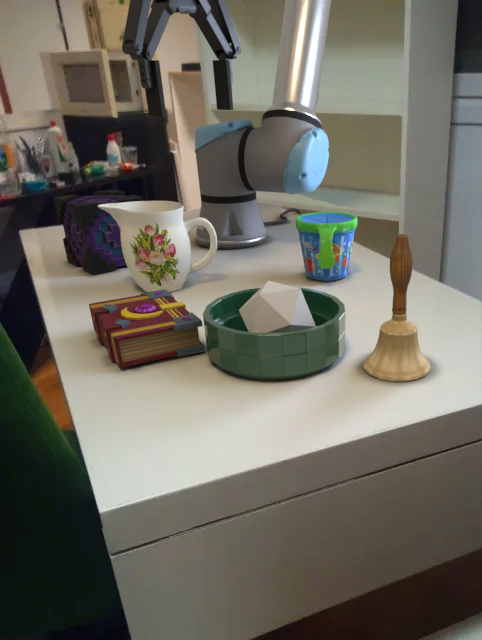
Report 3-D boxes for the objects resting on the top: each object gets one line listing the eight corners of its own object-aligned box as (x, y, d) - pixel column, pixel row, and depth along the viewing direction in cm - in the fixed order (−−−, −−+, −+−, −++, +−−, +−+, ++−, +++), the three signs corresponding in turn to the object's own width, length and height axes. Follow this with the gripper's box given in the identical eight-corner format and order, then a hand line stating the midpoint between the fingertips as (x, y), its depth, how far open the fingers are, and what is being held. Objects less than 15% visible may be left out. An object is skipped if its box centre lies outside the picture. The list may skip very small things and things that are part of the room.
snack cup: (304, 263, 113) (302, 207, 108) (359, 264, 112) (360, 208, 107) (290, 289, 100) (288, 226, 95) (352, 290, 99) (353, 227, 93)
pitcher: (224, 292, 99) (216, 205, 92) (112, 301, 95) (94, 212, 88) (218, 273, 108) (210, 193, 101) (115, 281, 104) (99, 199, 97)
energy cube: (125, 251, 122) (114, 189, 116) (153, 262, 114) (142, 197, 108) (67, 262, 115) (53, 197, 109) (92, 275, 108) (78, 206, 101)
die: (328, 350, 77) (309, 278, 78) (307, 341, 69) (286, 260, 69) (269, 369, 80) (252, 298, 80) (242, 362, 71) (222, 283, 72)
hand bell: (383, 387, 69) (390, 247, 60) (351, 360, 75) (354, 230, 67) (443, 374, 71) (458, 239, 63) (408, 349, 78) (417, 223, 70)
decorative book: (119, 372, 72) (111, 334, 70) (90, 330, 85) (83, 296, 82) (206, 353, 77) (202, 316, 75) (168, 315, 89) (163, 283, 87)
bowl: (268, 319, 88) (266, 279, 85) (369, 345, 79) (371, 302, 76) (179, 359, 76) (173, 315, 73) (288, 396, 67) (285, 347, 64)
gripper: (111, -99, 65) (143, 119, 76) (258, -66, 82) (267, 108, 93) (69, -89, 68) (106, 118, 80) (218, -60, 86) (232, 107, 97)
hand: (193, 113), depth 86 cm, fingers open, 13 cm apart
